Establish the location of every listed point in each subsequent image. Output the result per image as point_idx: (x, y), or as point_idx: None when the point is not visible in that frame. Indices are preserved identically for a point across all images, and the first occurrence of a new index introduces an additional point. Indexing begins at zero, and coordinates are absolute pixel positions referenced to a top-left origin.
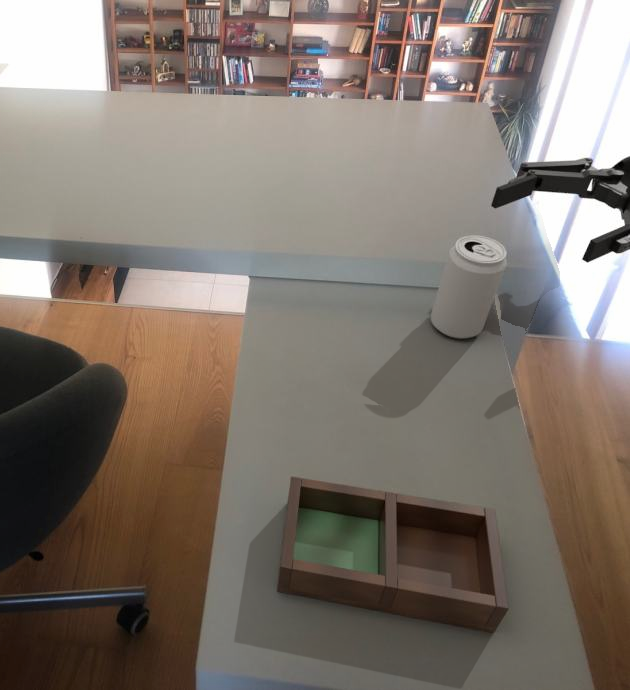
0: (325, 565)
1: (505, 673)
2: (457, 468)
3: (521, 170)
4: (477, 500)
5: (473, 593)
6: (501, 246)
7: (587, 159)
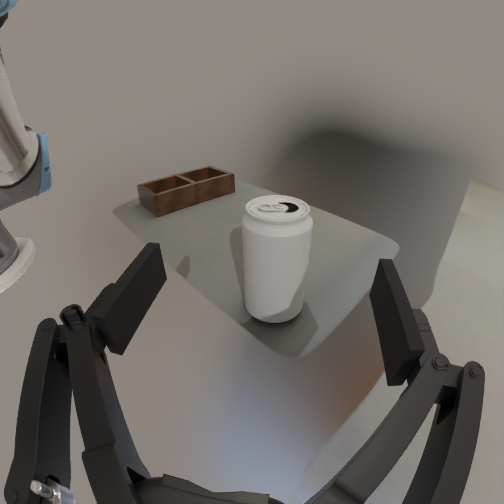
0: (198, 169)
1: (133, 200)
2: (183, 228)
3: (461, 367)
4: (165, 224)
5: (149, 182)
6: (264, 218)
7: None
